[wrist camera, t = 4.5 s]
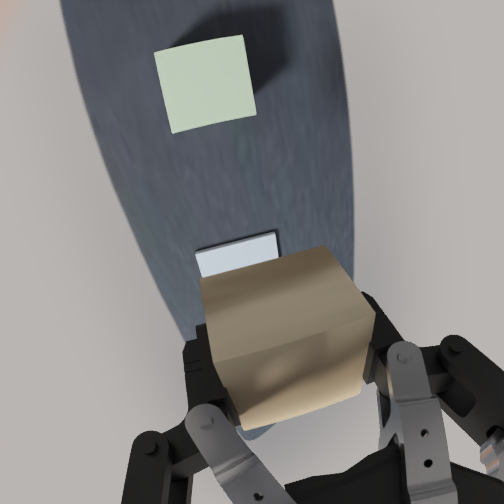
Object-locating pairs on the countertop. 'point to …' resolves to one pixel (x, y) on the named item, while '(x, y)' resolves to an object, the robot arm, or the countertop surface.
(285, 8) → the countertop surface
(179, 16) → the countertop surface
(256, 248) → the white tile
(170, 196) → the countertop surface
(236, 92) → the sage block
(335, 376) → the maple block
